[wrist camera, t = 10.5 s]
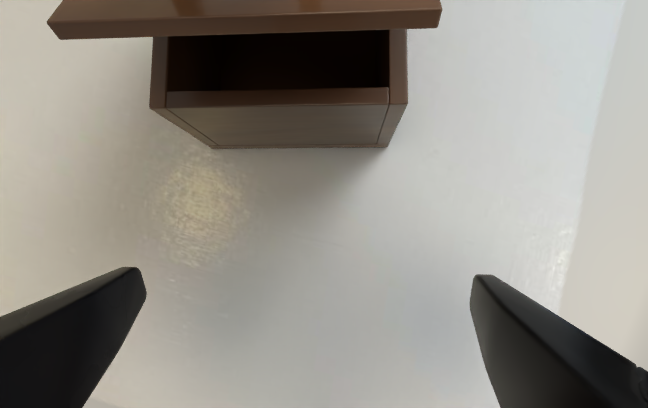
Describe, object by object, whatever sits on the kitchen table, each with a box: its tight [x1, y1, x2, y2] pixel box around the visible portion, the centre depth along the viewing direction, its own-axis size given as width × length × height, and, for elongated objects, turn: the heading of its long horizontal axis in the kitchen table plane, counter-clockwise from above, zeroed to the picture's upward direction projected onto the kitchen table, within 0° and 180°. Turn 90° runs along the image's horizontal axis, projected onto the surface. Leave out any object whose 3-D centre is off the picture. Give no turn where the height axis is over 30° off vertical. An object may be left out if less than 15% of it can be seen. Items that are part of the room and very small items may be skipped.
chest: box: [149, 29, 408, 149], centre depth 19 cm, size 11×12×7 cm
